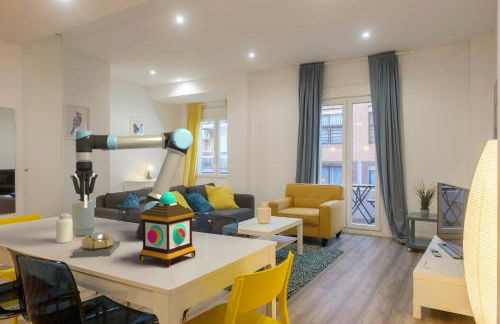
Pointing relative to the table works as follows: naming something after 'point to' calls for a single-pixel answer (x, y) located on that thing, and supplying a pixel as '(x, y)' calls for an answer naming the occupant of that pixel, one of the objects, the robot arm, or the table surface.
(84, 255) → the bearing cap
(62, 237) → the pill bottle
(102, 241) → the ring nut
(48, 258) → the table surface
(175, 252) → the decorative lantern
